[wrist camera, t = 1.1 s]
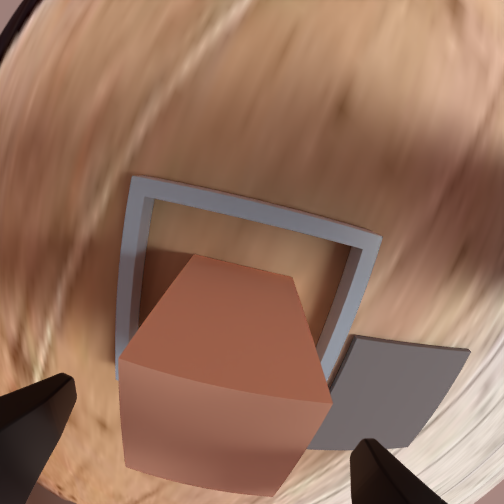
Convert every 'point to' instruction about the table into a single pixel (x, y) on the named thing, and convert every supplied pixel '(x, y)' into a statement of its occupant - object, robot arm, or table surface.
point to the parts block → (222, 381)
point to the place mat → (386, 392)
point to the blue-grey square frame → (250, 209)
